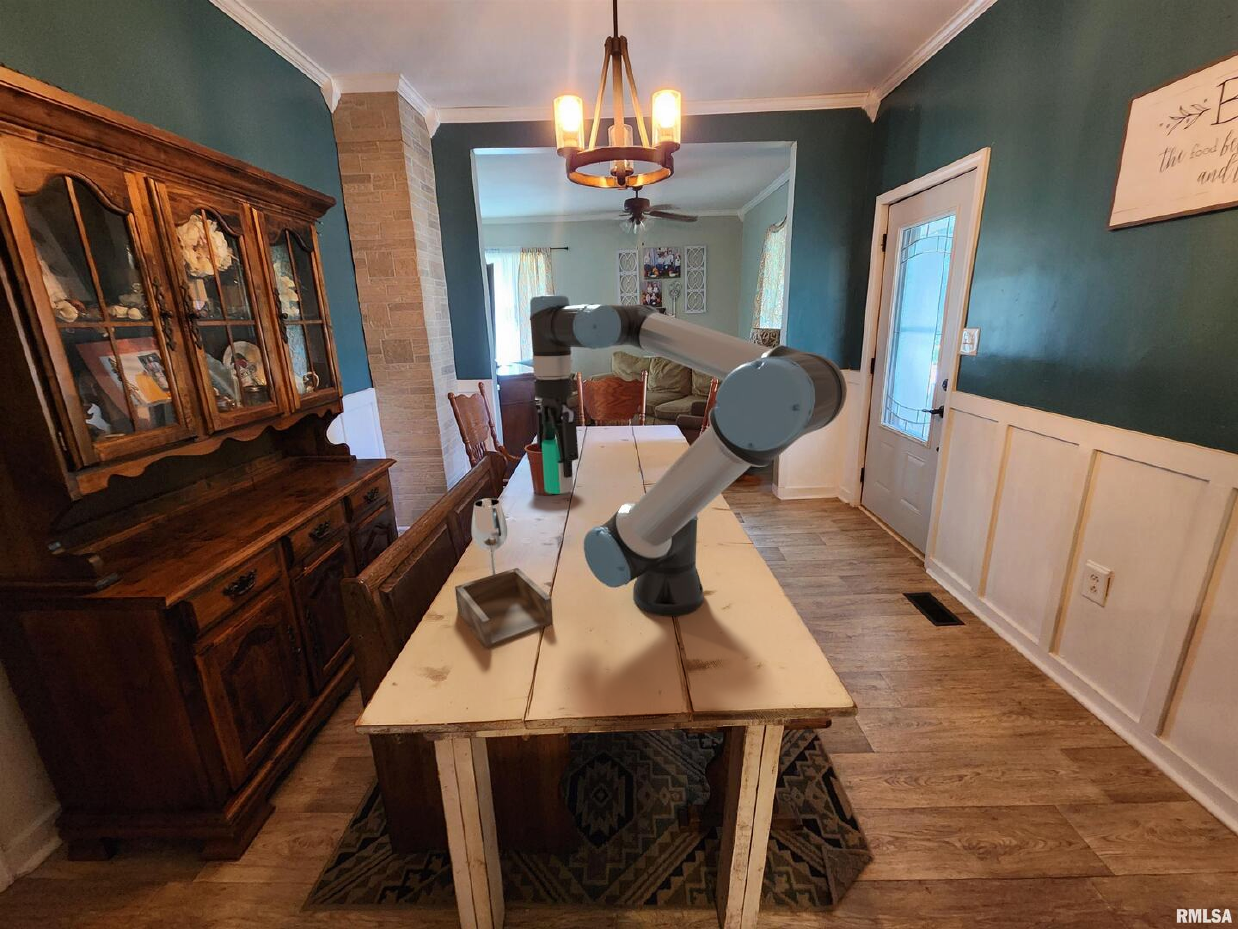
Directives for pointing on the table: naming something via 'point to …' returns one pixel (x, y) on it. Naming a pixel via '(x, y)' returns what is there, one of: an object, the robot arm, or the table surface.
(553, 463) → the candle
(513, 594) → the tray
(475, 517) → the wineglass
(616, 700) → the table surface
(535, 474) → the flower pot
